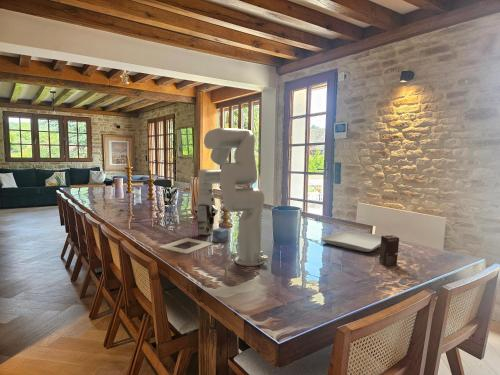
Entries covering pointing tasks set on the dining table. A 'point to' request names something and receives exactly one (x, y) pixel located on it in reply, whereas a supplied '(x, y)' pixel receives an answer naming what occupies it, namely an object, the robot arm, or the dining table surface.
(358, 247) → the square plate
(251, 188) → the robot arm
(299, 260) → the dining table surface
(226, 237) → the blue cube
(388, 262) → the box
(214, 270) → the dining table surface
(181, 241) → the card
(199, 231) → the coffee box
